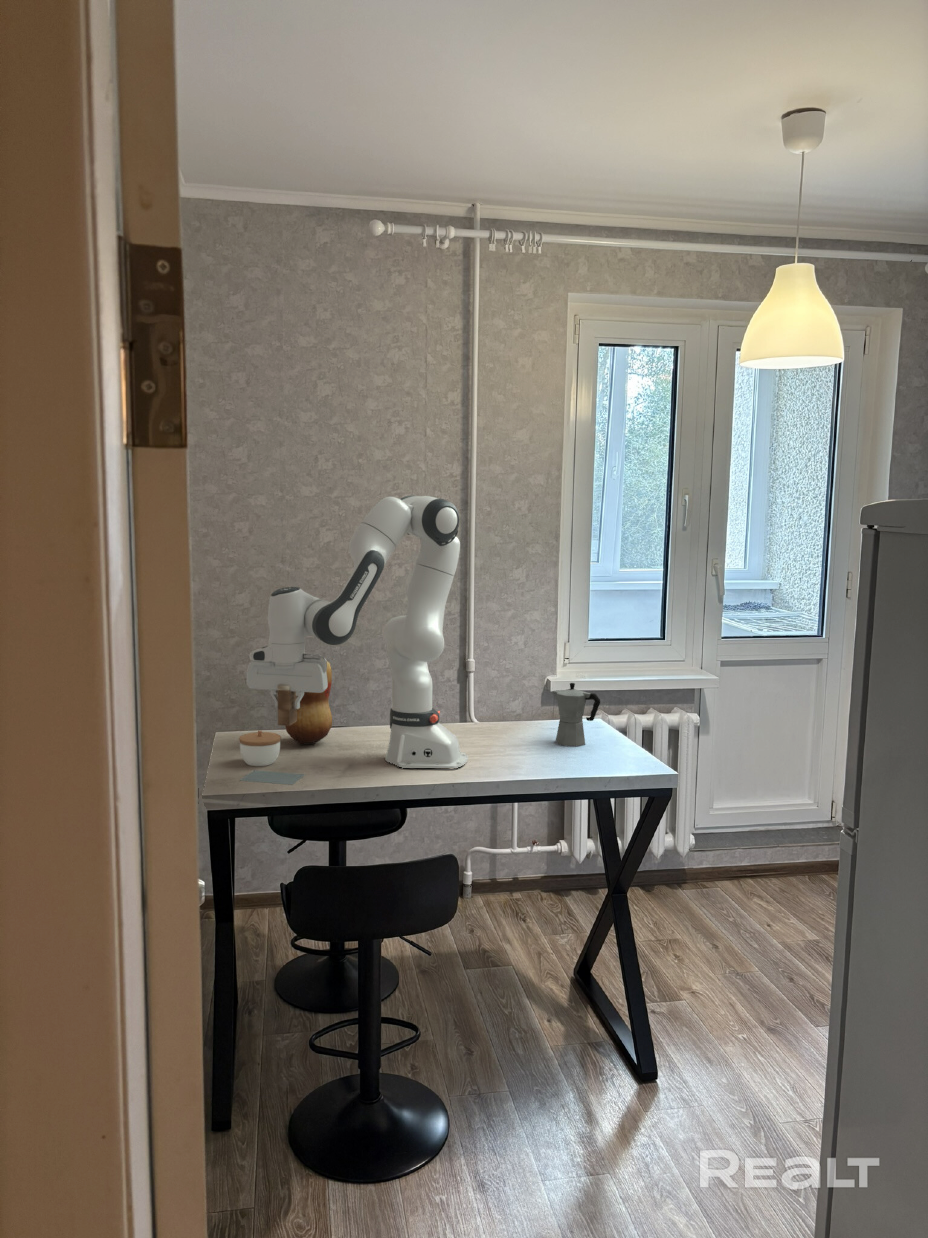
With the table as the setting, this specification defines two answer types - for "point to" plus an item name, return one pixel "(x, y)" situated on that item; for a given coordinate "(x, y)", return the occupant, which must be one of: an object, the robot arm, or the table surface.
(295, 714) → the brown and white block
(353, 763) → the table surface
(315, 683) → the robot arm
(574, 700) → the coffeepot
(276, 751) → the lidded jar
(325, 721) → the butternut squash
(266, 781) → the slate mat
